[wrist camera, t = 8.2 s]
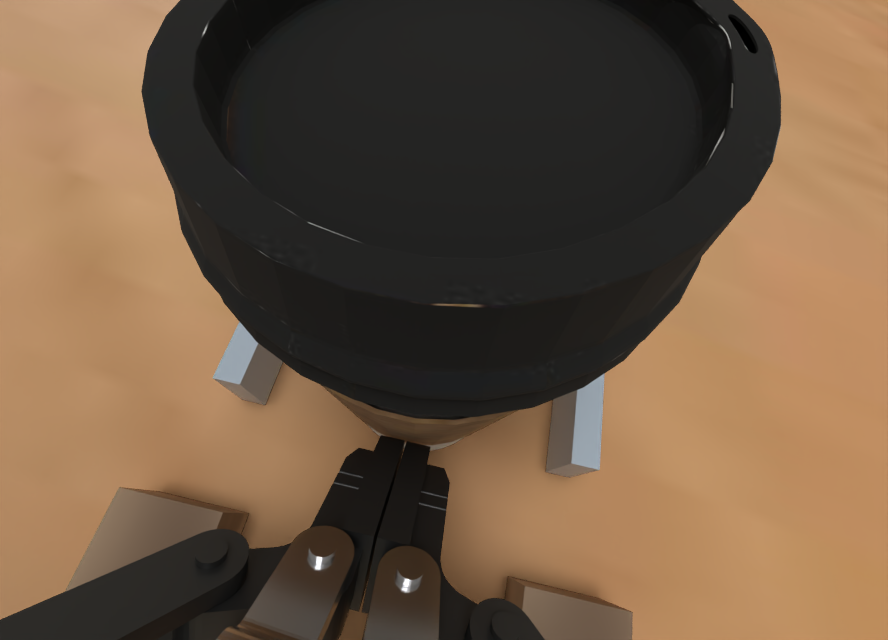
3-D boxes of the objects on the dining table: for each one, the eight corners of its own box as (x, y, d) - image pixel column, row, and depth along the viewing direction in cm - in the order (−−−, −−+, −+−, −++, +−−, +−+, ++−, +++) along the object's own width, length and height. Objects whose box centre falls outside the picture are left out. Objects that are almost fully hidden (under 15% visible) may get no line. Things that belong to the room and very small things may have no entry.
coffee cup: (531, 476, 17) (981, 325, 4) (320, 492, 16) (-78, 371, 3) (503, 295, 21) (684, -116, 7) (328, 301, 20) (166, -157, 6)
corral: (242, 399, 18) (212, 378, 15) (312, 238, 21) (299, 197, 19) (569, 477, 17) (599, 470, 15) (583, 301, 21) (609, 269, 18)
